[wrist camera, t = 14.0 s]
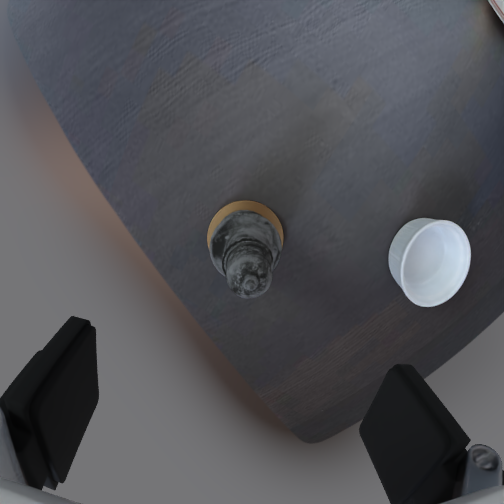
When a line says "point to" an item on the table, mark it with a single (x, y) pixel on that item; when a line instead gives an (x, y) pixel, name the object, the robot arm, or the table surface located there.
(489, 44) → the table surface
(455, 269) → the ramekin
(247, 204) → the coaster
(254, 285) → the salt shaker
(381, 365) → the table surface
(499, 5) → the dinner plate
